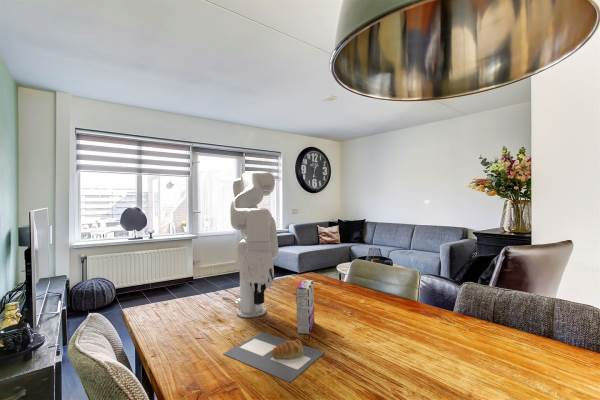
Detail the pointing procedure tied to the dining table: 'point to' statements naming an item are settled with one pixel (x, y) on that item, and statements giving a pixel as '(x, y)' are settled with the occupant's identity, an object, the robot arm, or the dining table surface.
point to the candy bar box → (305, 306)
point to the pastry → (288, 350)
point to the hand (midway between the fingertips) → (259, 303)
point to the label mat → (260, 356)
